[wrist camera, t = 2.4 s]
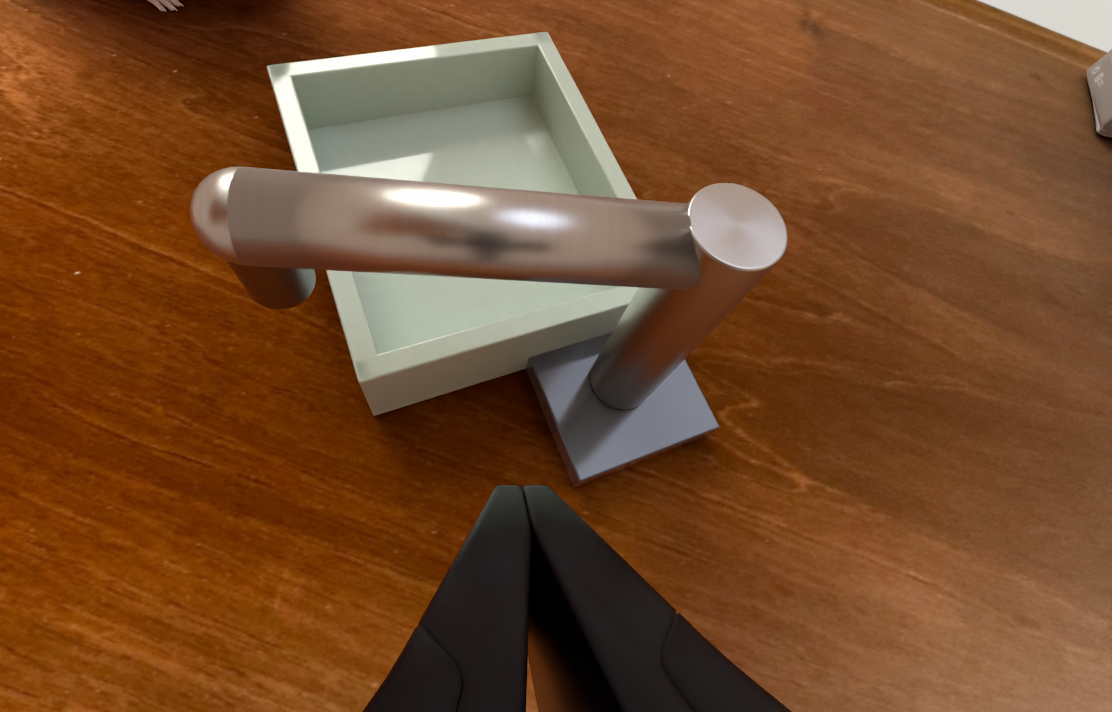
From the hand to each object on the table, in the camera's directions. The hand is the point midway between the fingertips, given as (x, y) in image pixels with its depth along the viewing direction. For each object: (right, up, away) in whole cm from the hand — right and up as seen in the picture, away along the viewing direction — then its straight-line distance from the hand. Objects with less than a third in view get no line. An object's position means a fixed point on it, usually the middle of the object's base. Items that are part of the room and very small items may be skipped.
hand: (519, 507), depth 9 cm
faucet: (-2, +2, +11) cm, 12 cm away
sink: (-2, +6, +14) cm, 16 cm away
